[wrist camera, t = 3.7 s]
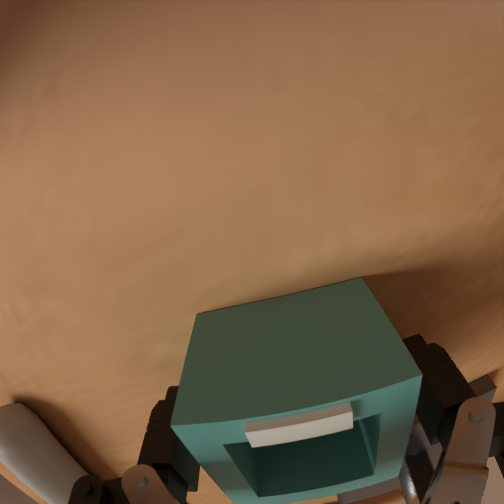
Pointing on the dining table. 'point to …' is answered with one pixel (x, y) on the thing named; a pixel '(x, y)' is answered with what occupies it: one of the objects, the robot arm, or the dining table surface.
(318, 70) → the dining table surface
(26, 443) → the tube
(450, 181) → the dining table surface
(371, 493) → the grey peg stand
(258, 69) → the dining table surface
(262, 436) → the teal square sleeve
